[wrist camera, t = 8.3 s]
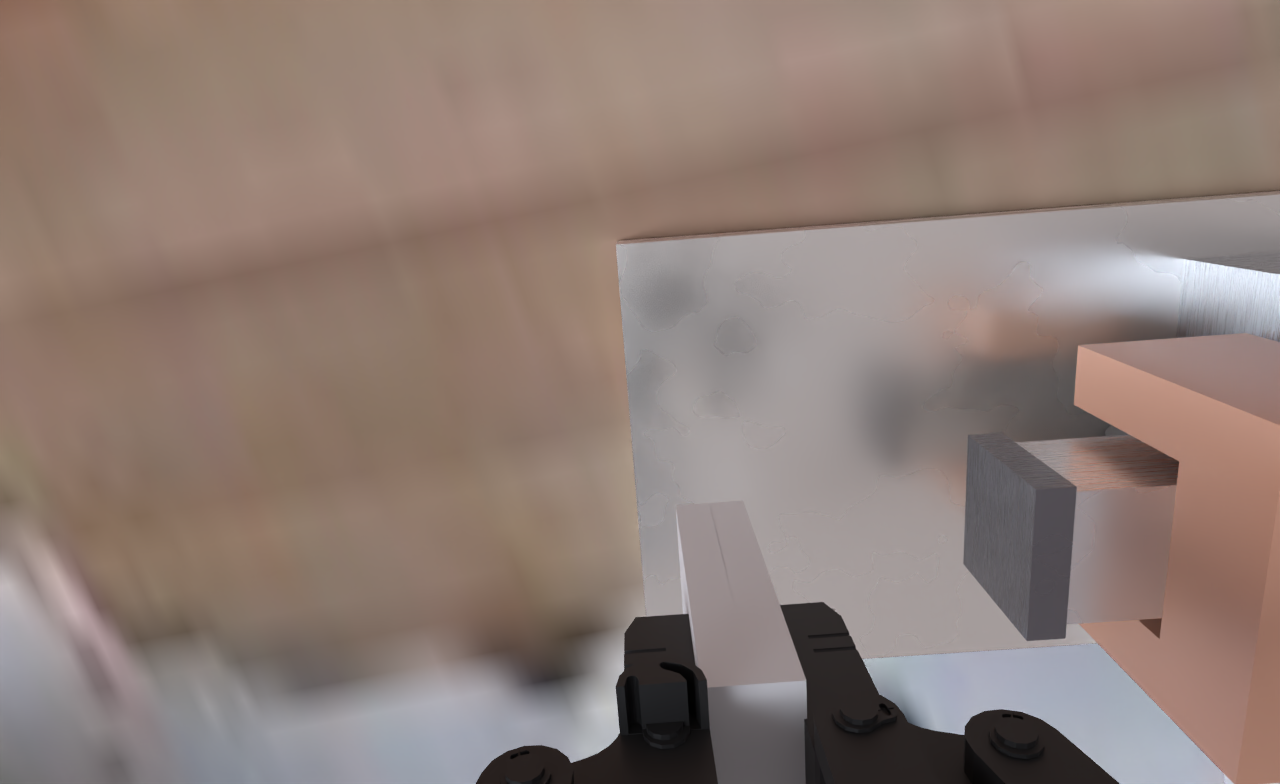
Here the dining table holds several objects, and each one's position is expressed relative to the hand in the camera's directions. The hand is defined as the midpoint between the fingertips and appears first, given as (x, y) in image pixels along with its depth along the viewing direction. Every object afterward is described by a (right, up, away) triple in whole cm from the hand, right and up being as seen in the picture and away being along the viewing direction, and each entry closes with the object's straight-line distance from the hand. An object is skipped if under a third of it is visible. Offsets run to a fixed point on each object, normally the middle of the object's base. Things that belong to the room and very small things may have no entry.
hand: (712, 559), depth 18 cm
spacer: (+11, +2, +2) cm, 12 cm away
